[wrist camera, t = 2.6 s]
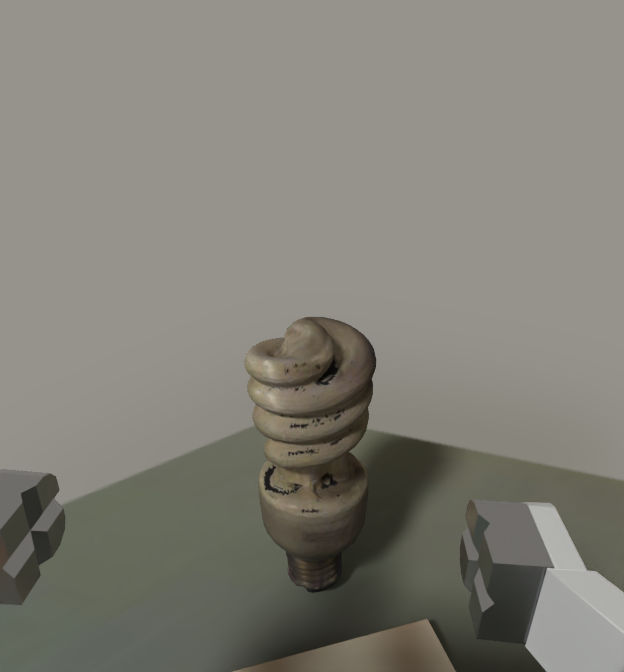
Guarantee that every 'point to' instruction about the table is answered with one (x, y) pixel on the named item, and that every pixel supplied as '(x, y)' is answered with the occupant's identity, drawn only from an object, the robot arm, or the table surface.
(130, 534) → the table surface
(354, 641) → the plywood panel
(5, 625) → the table surface
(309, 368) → the light bulb
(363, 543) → the table surface
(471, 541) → the robot arm
